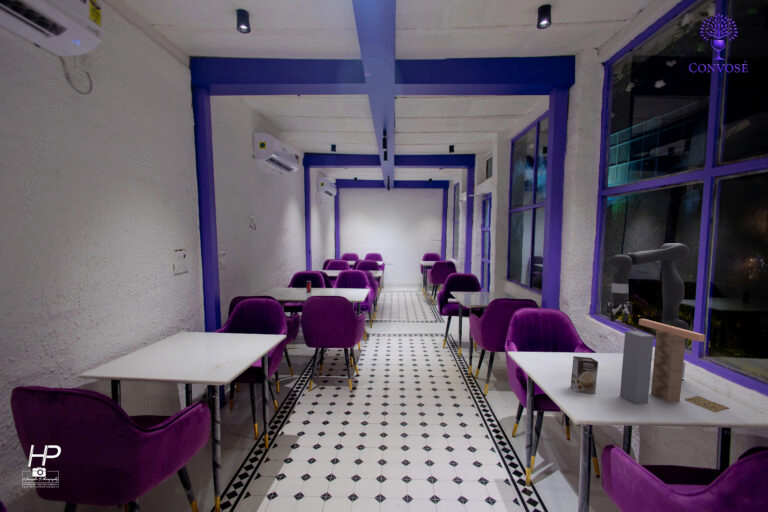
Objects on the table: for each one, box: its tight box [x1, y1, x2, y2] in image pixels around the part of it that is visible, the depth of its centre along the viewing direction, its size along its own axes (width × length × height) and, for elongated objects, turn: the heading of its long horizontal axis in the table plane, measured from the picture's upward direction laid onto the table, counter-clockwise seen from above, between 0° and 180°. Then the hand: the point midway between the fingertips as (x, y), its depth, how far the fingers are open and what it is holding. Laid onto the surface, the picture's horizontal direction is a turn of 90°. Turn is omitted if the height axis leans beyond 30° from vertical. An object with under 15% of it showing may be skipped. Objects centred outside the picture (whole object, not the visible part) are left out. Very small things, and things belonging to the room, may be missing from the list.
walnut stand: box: [650, 330, 686, 403], centre depth 158 cm, size 8×7×32 cm
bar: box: [638, 318, 706, 343], centre depth 158 cm, size 28×3×3 cm, turn 10°
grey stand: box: [619, 330, 655, 405], centre depth 155 cm, size 8×7×32 cm
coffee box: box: [570, 355, 599, 394], centre depth 163 cm, size 9×6×16 cm
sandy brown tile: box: [683, 395, 730, 413], centre depth 154 cm, size 12×12×1 cm
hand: (619, 320), depth 180 cm, fingers open, 8 cm apart
